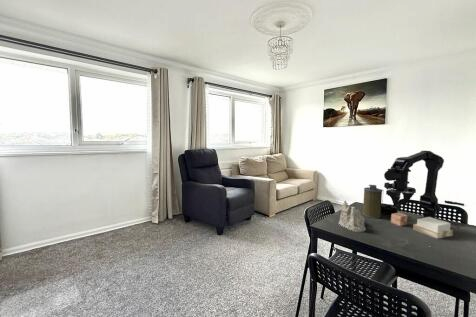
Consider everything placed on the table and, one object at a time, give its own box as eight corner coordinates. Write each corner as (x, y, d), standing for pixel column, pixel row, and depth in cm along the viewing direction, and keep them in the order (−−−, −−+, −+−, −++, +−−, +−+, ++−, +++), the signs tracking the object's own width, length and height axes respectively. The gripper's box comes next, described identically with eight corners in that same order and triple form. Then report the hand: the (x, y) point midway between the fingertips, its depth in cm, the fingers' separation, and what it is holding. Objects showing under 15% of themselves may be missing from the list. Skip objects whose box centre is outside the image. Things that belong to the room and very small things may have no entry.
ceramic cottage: (354, 232, 126) (356, 205, 125) (332, 223, 141) (334, 198, 140) (376, 230, 131) (378, 204, 130) (353, 221, 146) (355, 197, 145)
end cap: (397, 214, 155) (398, 204, 155) (397, 217, 150) (398, 207, 149) (379, 211, 161) (380, 202, 160) (379, 214, 155) (379, 204, 154)
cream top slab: (428, 222, 133) (429, 216, 132) (449, 229, 123) (450, 223, 123) (416, 225, 129) (417, 218, 129) (437, 232, 120) (438, 225, 120)
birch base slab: (427, 227, 134) (428, 222, 134) (452, 236, 123) (453, 230, 123) (412, 230, 130) (413, 224, 130) (437, 239, 119) (437, 233, 119)
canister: (361, 215, 152) (362, 185, 150) (363, 211, 161) (365, 182, 159) (380, 219, 146) (382, 187, 144) (382, 214, 154) (384, 185, 152)
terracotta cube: (397, 221, 143) (398, 212, 142) (406, 224, 137) (407, 215, 137) (390, 222, 141) (391, 213, 140) (399, 226, 136) (400, 216, 135)
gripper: (397, 175, 147) (396, 200, 149) (377, 178, 140) (376, 204, 141) (417, 178, 137) (415, 204, 139) (397, 182, 130) (395, 209, 131)
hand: (400, 205), depth 138 cm, fingers open, 9 cm apart
